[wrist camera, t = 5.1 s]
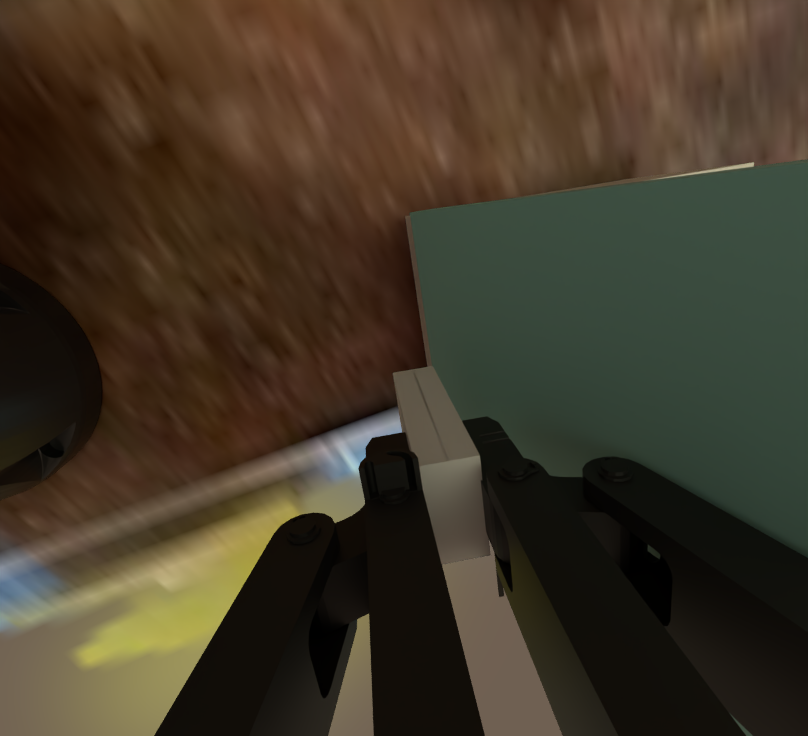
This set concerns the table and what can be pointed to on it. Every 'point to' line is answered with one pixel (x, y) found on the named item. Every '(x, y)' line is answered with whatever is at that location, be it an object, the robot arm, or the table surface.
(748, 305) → the lid
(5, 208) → the table surface
